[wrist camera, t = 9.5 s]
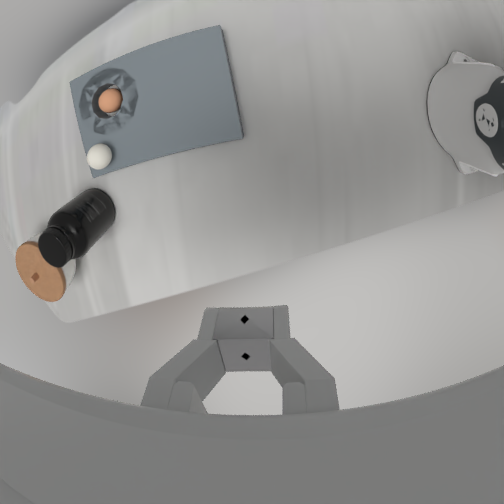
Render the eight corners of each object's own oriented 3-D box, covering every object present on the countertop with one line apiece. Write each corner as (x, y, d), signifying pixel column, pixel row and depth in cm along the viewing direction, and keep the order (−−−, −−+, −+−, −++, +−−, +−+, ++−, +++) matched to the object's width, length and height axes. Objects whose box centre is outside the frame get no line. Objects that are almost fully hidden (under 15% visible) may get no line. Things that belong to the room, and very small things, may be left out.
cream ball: (112, 138, 29) (99, 142, 26) (119, 161, 30) (106, 168, 27) (92, 146, 29) (79, 151, 26) (99, 168, 31) (86, 175, 28)
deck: (222, 30, 24) (219, 25, 22) (243, 136, 31) (242, 138, 29) (79, 81, 26) (69, 82, 24) (101, 172, 33) (93, 178, 31)
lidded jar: (76, 219, 37) (42, 249, 29) (93, 277, 42) (67, 312, 34) (33, 223, 37) (1, 249, 29) (51, 274, 42) (25, 304, 34)
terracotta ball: (120, 84, 25) (102, 83, 26) (107, 107, 25) (89, 104, 26) (131, 97, 29) (113, 94, 29) (119, 118, 29) (102, 115, 29)
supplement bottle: (73, 194, 35) (24, 230, 24) (107, 182, 34) (57, 217, 24) (88, 234, 38) (47, 277, 28) (122, 225, 37) (82, 271, 27)
